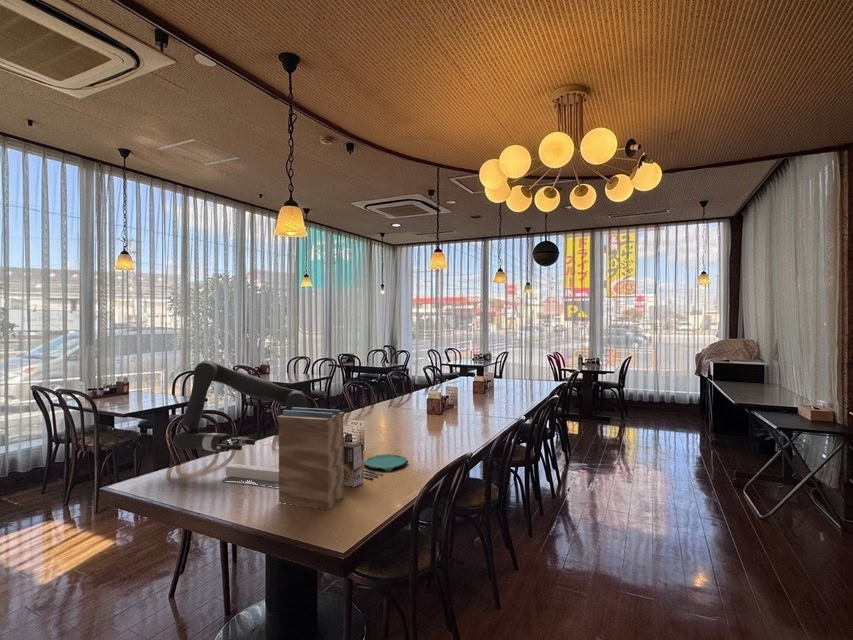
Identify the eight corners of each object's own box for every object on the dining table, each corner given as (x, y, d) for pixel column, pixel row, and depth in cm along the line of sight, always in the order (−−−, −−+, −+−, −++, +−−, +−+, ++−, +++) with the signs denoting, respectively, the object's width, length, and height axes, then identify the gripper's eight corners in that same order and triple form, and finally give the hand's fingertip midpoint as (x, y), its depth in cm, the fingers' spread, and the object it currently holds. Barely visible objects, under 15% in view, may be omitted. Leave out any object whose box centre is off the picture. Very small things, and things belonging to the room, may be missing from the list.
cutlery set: (415, 462, 211) (415, 457, 211) (374, 483, 186) (374, 477, 186) (382, 456, 222) (382, 451, 222) (339, 474, 197) (339, 469, 197)
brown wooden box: (298, 490, 176) (298, 405, 176) (344, 496, 170) (344, 408, 170) (277, 504, 162) (277, 412, 162) (326, 511, 157) (326, 415, 157)
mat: (245, 471, 199) (245, 469, 199) (304, 477, 191) (304, 475, 191) (222, 481, 186) (222, 480, 186) (285, 489, 177) (285, 487, 177)
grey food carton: (363, 482, 184) (363, 443, 184) (353, 487, 179) (353, 447, 179) (346, 479, 189) (346, 440, 189) (336, 483, 183) (336, 444, 183)
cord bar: (232, 472, 195) (232, 463, 195) (284, 478, 188) (284, 469, 188) (226, 475, 191) (226, 466, 191) (278, 481, 184) (278, 472, 184)
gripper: (204, 437, 188) (236, 440, 184) (228, 429, 202) (258, 432, 197) (204, 455, 188) (236, 458, 184) (228, 446, 202) (258, 449, 197)
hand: (248, 445), depth 191 cm, fingers open, 8 cm apart
